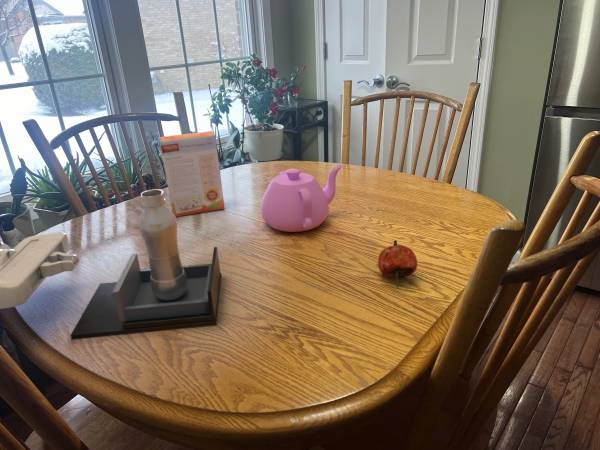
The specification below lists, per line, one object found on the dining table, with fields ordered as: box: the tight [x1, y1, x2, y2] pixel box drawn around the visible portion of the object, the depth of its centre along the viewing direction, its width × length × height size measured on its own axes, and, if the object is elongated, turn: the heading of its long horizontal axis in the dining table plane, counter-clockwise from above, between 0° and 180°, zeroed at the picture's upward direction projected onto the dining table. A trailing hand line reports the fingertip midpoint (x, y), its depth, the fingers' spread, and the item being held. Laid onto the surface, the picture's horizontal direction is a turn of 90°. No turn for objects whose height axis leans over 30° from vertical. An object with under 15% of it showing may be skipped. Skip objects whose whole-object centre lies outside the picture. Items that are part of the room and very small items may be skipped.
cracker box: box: [159, 130, 225, 218], centre depth 117 cm, size 14×6×21 cm, turn 108°
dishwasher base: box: [70, 246, 222, 340], centre depth 79 cm, size 24×16×7 cm
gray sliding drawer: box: [112, 253, 212, 322], centre depth 79 cm, size 15×13×7 cm
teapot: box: [260, 164, 344, 233], centre depth 109 cm, size 22×22×14 cm
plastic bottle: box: [137, 188, 188, 301], centre depth 76 cm, size 6×7×20 cm
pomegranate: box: [377, 239, 418, 290], centre depth 84 cm, size 7×7×10 cm
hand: (75, 262), depth 76 cm, fingers closed
